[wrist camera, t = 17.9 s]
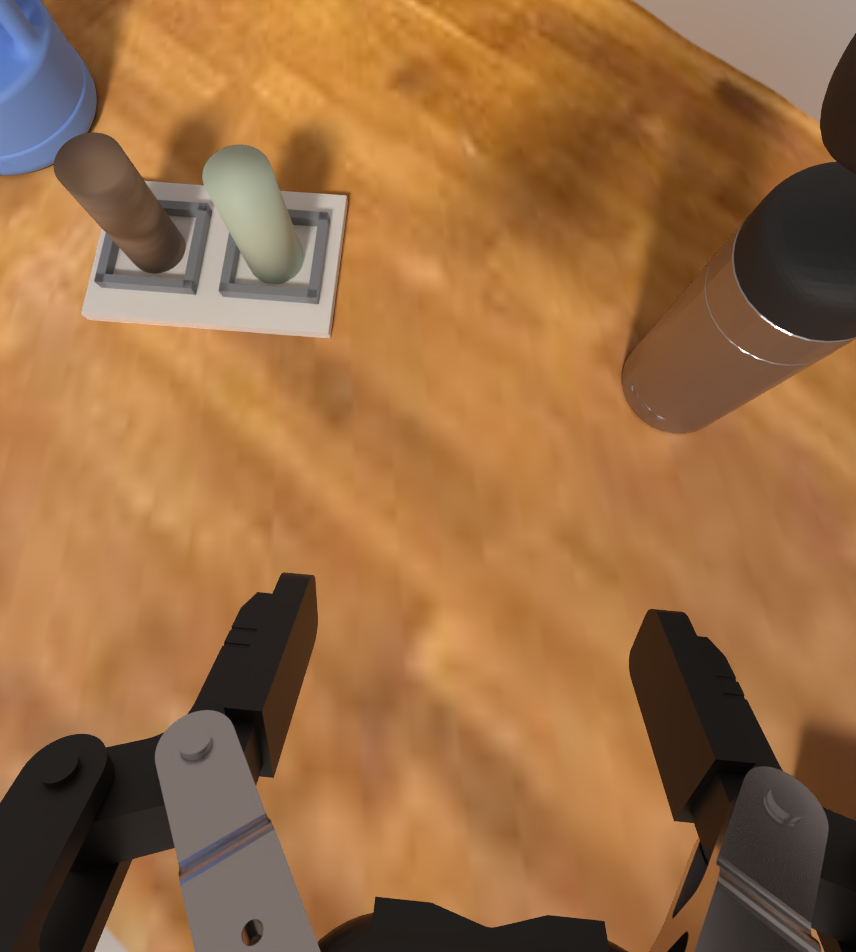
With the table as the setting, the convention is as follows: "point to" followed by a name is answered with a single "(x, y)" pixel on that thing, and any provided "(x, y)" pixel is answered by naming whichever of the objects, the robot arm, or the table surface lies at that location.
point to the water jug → (39, 88)
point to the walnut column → (119, 201)
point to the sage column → (254, 212)
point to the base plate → (224, 272)
